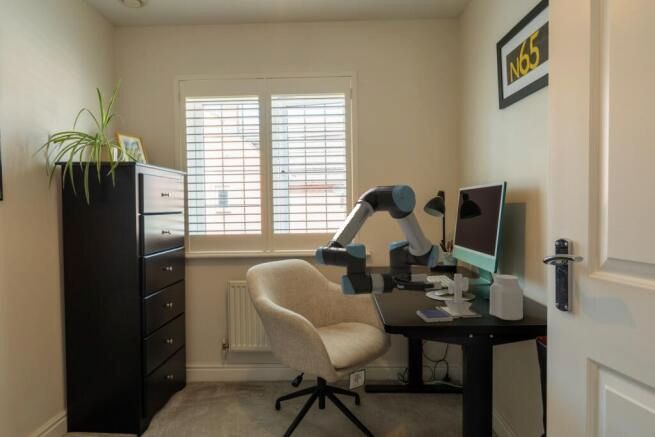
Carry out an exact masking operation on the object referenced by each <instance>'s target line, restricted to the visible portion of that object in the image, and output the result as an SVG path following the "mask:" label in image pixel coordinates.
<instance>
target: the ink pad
mask: <svg viewBox="0 0 655 437" xmlns="http://www.w3.org/2000/svg"><path fill="white" fill-rule="evenodd" d="M416 314H417V315H418V316H419V317H420V318H421V319H422V320H423V321H425V322H426V323H437V322H439V321H440V322H453V321H454V318H453V317H451V316H450V315H448V314H447V313H445V312H444V311H442V310H439V309H427V310H416Z"/></svg>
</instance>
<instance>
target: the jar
mask: <svg viewBox="0 0 655 437" xmlns="http://www.w3.org/2000/svg"><path fill="white" fill-rule="evenodd" d="M523 309H524V290H523V288H522V287H521V286H520V284H519V277H518V276H516V275H512V274H495V275H494V281H493V283H492V284H491V285H490V287H489V315H490V316H491V315H492V316H494V317H497V318H499V319H501V320H507V321H519V320H522V319H523V318H524V313H523V311H524V310H523Z"/></svg>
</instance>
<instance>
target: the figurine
mask: <svg viewBox="0 0 655 437" xmlns="http://www.w3.org/2000/svg"><path fill="white" fill-rule="evenodd" d="M447 289H448V294H449V295H452V294H453V295H454V299H450V300H444V303H445V304H446V306H448V308H449V310H450V311H452V312H455V313H464V312H467V310H468V309H470V307H471V306H472V304H473V303H472V302H470V301H469V302H468V301H466V300H463V297H462V296H463V292H468V290H469V277H465V276H464V277H463V274H461V273H454V278H453V280H450V281H449V282H448V288H447Z"/></svg>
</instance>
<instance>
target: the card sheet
mask: <svg viewBox="0 0 655 437" xmlns="http://www.w3.org/2000/svg"><path fill="white" fill-rule="evenodd" d="M435 309H437V310H442V311H444V312H445V313H447V314H448V315H450V316H451V317H453V319H460V318H459V317H463V318H477V317H479V318H480V317H481V318H482V316H483V315H482V314H480V313H478V312H476V311H474V310H472V309H471V308H469V309H468V310H467V312H464V313H455V312H452V311H450V310H449V308H448V306H447V305H440V306H436V307H435Z"/></svg>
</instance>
